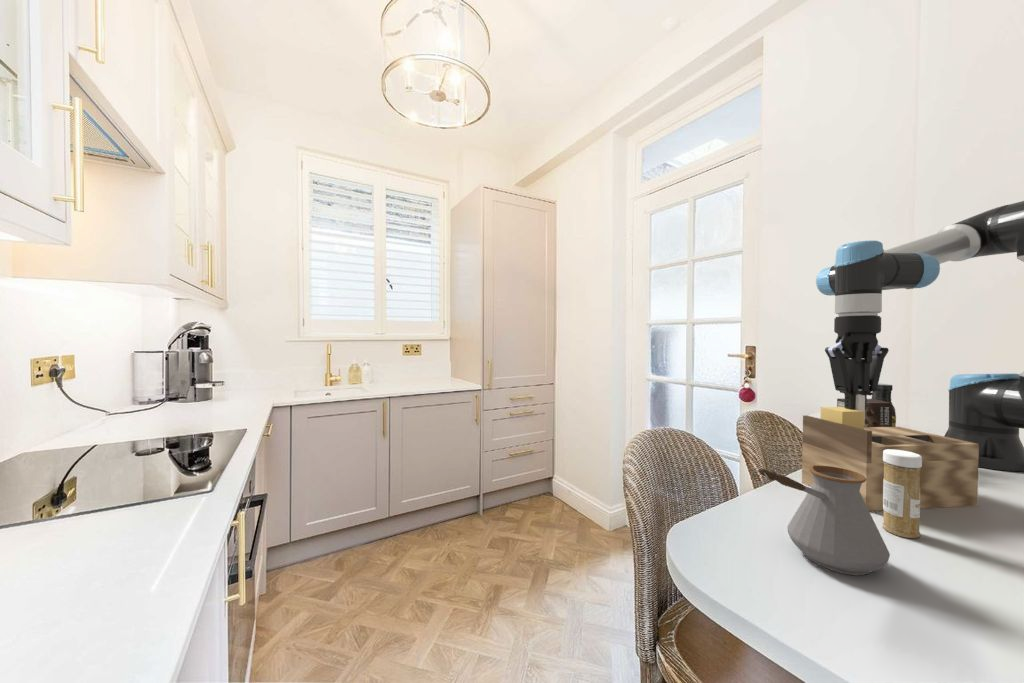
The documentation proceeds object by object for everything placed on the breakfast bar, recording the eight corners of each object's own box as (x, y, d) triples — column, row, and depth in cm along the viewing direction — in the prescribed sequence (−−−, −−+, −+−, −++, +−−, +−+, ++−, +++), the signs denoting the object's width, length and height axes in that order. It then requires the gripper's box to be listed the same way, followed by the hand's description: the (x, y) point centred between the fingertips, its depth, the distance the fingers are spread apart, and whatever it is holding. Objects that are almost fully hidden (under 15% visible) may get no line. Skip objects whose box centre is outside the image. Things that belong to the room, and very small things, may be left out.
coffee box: (871, 458, 103) (872, 398, 103) (892, 466, 97) (894, 402, 96) (834, 457, 104) (835, 397, 104) (853, 465, 97) (854, 401, 97)
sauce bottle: (868, 458, 102) (869, 384, 102) (857, 452, 108) (859, 381, 108) (900, 462, 100) (902, 385, 99) (888, 455, 106) (889, 383, 105)
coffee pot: (820, 533, 64) (821, 443, 64) (909, 574, 53) (912, 466, 53) (719, 556, 57) (721, 456, 57) (798, 609, 46) (801, 485, 46)
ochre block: (840, 429, 86) (841, 406, 85) (863, 435, 81) (864, 411, 80) (820, 429, 85) (820, 407, 85) (841, 435, 80) (842, 411, 80)
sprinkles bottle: (927, 541, 61) (929, 457, 61) (892, 536, 63) (893, 455, 63) (908, 527, 66) (910, 449, 66) (875, 523, 67) (876, 447, 67)
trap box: (897, 478, 88) (899, 413, 88) (977, 505, 74) (979, 428, 74) (801, 482, 86) (803, 415, 86) (865, 511, 72) (867, 431, 72)
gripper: (866, 316, 87) (864, 420, 87) (814, 315, 86) (812, 421, 86) (903, 314, 80) (901, 428, 80) (846, 314, 78) (844, 429, 79)
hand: (855, 424), depth 83 cm, fingers closed
